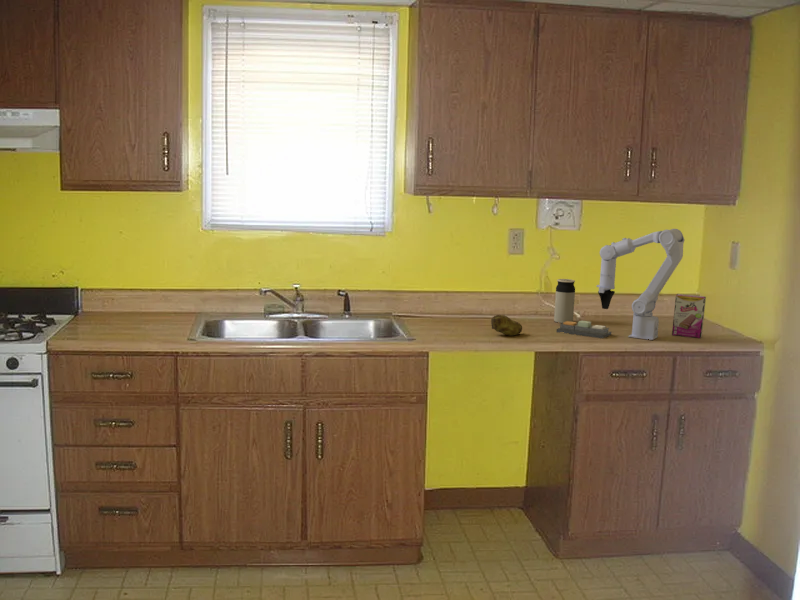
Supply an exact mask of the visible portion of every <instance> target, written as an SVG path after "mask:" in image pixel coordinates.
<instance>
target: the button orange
mask: <svg viewBox="0 0 800 600" xmlns="http://www.w3.org/2000/svg"><path fill="white" fill-rule="evenodd" d="M576 323H577V324H578V321H573V322H570V321H566V322H563V324H566V325H573V326H574V325H576Z"/></svg>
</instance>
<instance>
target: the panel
mask: <svg viewBox="0 0 800 600" xmlns="http://www.w3.org/2000/svg"><path fill="white" fill-rule="evenodd" d="M592 326H593V325H592V324H591V326H590V327H580V326H578V322H577V323H576V325H574V326H573V325H566V324H563V323H559V327H558V328H556V333H560V332H564V333H563V334H567V333H569V334H568V335H574V334H576V336H581V335H582V337H589V338H597V339H605V338H607V337H609V336H611V335H612V331H610V330H609V327H606V328H605V329H595V328H592Z"/></svg>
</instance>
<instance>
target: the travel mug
mask: <svg viewBox="0 0 800 600" xmlns="http://www.w3.org/2000/svg"><path fill="white" fill-rule="evenodd" d="M556 281H557V285H556V287H555V298H554V300H555V301H554V317H553V321H554V322H555V323H557V322H559V323H558V324H562V323H563V322H566V321H570V322H574V314H575V313H574V312H575V299H576V298H575V297H576V286H575V283H576V280H575V279H570V278H569V279H568V278H559V279H556Z"/></svg>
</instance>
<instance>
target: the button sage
mask: <svg viewBox="0 0 800 600" xmlns="http://www.w3.org/2000/svg"><path fill="white" fill-rule="evenodd" d="M577 324H578V326H580V327H590V326H591V325H592V321H589V320H588V321H587V320H579V321H577Z"/></svg>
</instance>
